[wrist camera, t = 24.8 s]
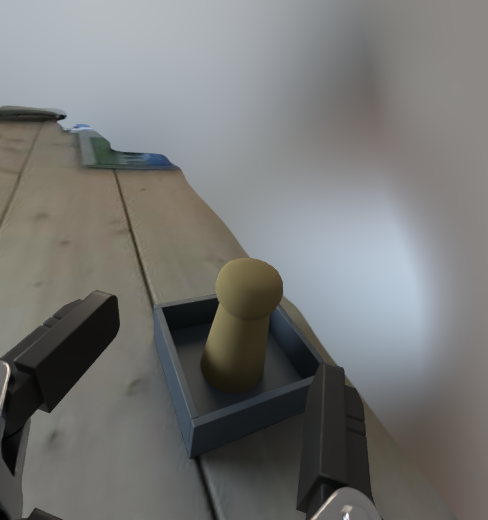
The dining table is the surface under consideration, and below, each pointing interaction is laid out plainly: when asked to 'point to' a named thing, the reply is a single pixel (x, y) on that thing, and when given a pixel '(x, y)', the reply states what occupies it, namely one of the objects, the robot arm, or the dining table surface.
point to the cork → (241, 325)
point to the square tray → (223, 403)
